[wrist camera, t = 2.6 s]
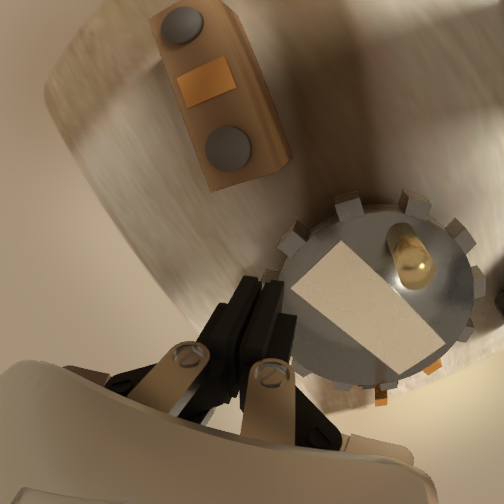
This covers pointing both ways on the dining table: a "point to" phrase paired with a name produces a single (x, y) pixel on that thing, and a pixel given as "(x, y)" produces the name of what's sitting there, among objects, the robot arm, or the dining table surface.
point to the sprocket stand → (378, 394)
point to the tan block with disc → (220, 92)
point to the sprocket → (377, 291)
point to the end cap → (500, 303)
